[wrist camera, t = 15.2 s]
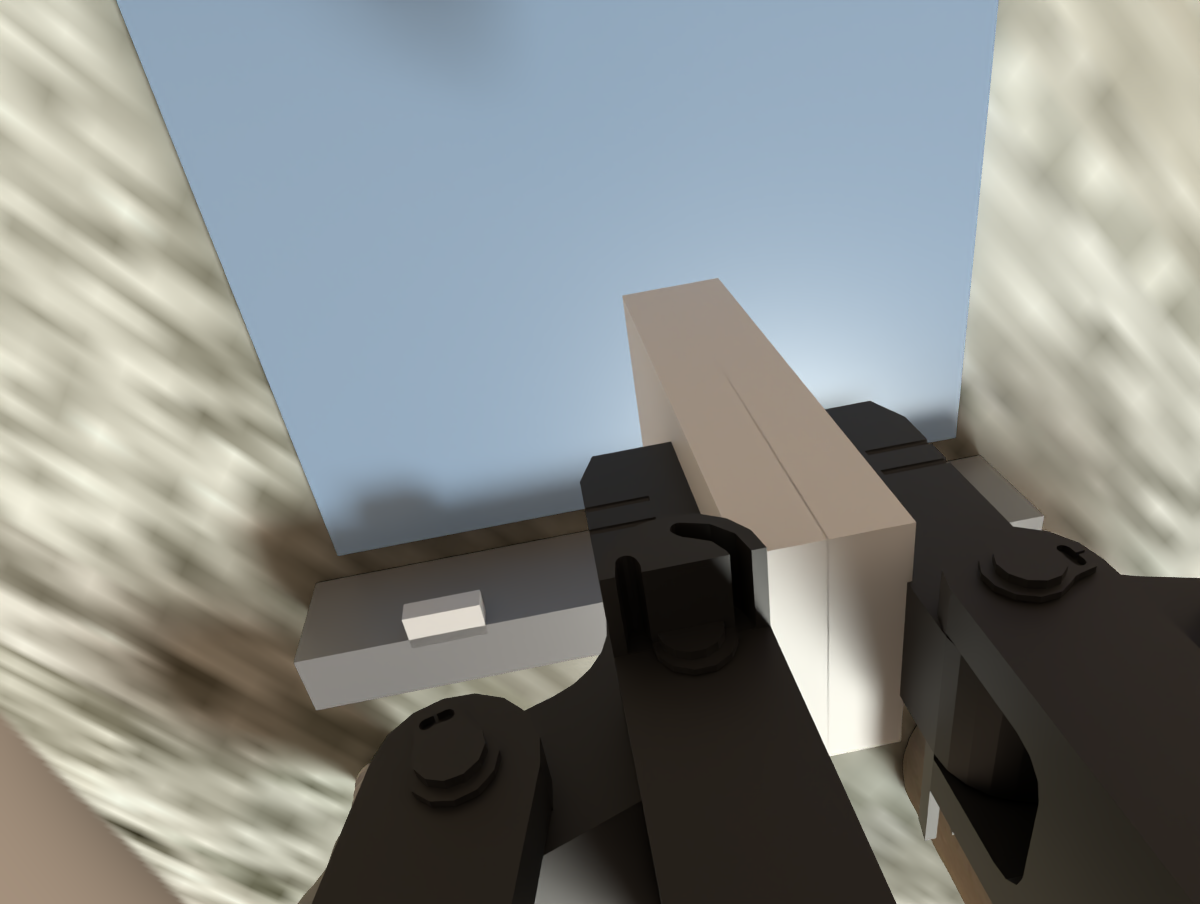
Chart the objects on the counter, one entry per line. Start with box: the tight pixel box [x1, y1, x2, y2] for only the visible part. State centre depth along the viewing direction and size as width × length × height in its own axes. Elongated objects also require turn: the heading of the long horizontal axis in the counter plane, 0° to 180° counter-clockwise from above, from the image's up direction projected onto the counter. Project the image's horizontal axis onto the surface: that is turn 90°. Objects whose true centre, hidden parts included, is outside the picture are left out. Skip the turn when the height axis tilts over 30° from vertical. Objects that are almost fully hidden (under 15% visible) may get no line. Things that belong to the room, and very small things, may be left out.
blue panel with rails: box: [116, 0, 1044, 710], centre depth 18 cm, size 21×20×3 cm
